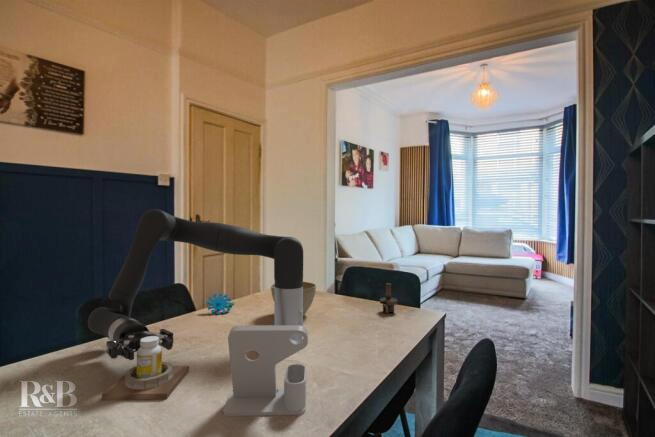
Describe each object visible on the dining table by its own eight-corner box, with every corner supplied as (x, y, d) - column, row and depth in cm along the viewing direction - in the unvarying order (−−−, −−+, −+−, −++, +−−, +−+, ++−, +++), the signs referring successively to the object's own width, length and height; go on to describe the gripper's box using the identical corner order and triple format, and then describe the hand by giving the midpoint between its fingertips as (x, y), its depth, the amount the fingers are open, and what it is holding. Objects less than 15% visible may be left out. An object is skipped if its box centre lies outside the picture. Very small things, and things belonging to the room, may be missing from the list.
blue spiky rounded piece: (205, 312, 140) (208, 290, 147) (204, 319, 144) (207, 298, 151) (233, 314, 143) (235, 292, 150) (231, 321, 147) (233, 300, 154)
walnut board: (189, 370, 92) (189, 358, 91) (166, 398, 78) (166, 384, 78) (134, 371, 91) (134, 358, 91) (101, 399, 77) (101, 385, 77)
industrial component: (388, 308, 153) (388, 281, 153) (401, 312, 148) (401, 283, 147) (373, 312, 147) (373, 283, 147) (386, 316, 142) (386, 286, 142)
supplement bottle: (142, 386, 81) (142, 344, 80) (132, 379, 84) (132, 339, 84) (165, 378, 85) (165, 338, 85) (155, 371, 88) (155, 333, 88)
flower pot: (324, 313, 145) (324, 284, 145) (297, 324, 130) (297, 292, 130) (289, 306, 155) (290, 279, 155) (261, 316, 140) (261, 286, 139)
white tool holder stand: (307, 390, 82) (308, 313, 82) (307, 415, 72) (307, 327, 72) (232, 391, 81) (232, 313, 81) (221, 416, 71) (221, 327, 71)
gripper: (97, 326, 89) (118, 342, 78) (156, 314, 99) (182, 327, 88) (97, 355, 89) (118, 376, 78) (155, 341, 99) (181, 357, 88)
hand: (152, 350), depth 83 cm, fingers open, 8 cm apart
